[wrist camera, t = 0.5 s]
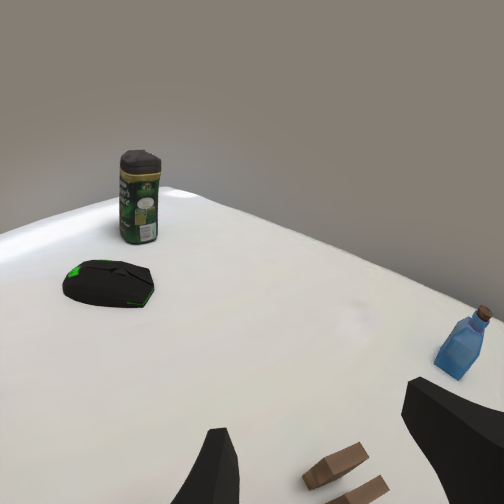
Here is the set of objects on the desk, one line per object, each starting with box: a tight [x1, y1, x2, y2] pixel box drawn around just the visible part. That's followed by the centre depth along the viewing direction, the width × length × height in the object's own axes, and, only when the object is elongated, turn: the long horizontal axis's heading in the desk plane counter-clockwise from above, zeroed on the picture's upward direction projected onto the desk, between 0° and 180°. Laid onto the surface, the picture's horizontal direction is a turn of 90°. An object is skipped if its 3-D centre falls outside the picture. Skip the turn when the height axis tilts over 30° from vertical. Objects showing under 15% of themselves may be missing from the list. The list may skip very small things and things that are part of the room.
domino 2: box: [326, 475, 390, 504], centre depth 16 cm, size 2×4×6 cm, turn 109°
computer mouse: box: [62, 260, 154, 308], centre depth 42 cm, size 11×16×4 cm
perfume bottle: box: [434, 305, 493, 381], centre depth 35 cm, size 6×6×12 cm
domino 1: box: [302, 442, 369, 490], centre depth 20 cm, size 2×4×6 cm, turn 109°
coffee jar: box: [119, 150, 161, 244], centre depth 54 cm, size 10×8×19 cm
